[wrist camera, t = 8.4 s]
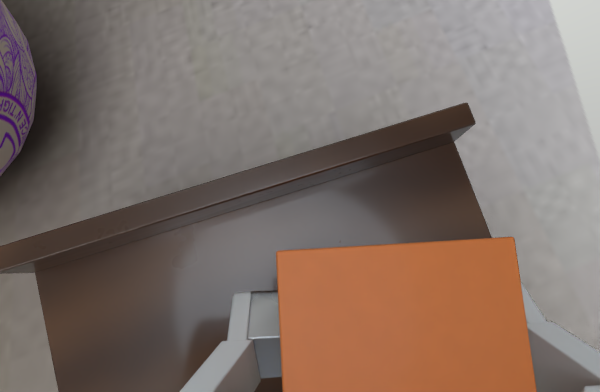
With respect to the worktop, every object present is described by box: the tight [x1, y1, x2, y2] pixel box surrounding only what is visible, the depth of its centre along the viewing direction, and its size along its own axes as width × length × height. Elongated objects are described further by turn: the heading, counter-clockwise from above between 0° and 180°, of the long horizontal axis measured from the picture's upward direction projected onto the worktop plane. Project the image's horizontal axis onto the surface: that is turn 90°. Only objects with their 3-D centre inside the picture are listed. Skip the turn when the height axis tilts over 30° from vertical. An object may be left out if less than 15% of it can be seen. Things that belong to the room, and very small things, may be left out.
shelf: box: [0, 103, 492, 392], centre depth 21 cm, size 11×20×12 cm, turn 107°
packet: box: [276, 237, 537, 392], centre depth 13 cm, size 4×5×9 cm
